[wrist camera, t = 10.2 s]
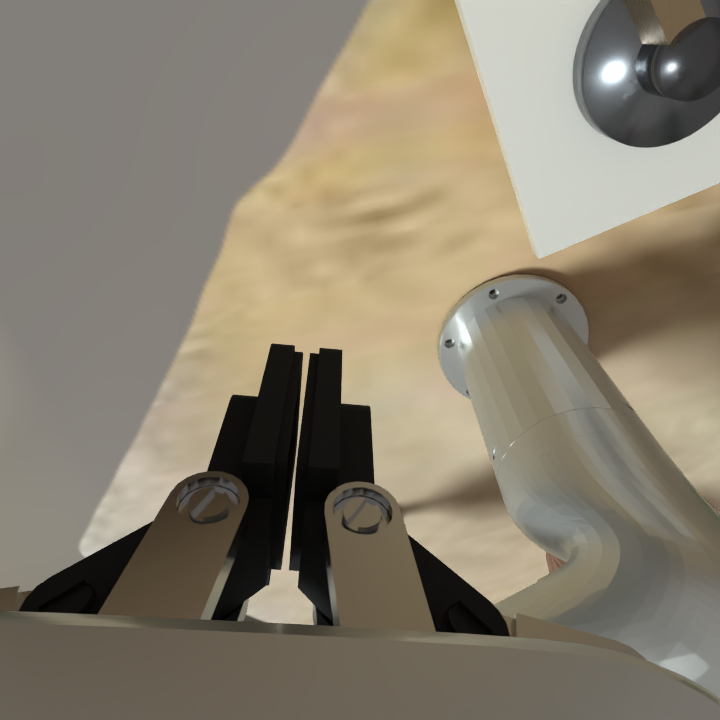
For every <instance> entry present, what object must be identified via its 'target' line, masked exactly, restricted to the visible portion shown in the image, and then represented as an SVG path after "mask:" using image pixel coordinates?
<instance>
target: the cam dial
mask: <svg viewBox="0 0 720 720" xmlns="http://www.w3.org/2000/svg"><path fill="white" fill-rule="evenodd" d="M573 89H574V95H575V99H576V102H577V105H578V107H579V110H580V112H581V113H582V115H583V117H584V118H585V120H586V121H587V122H588V123H589V124H590V126H591V127H592V128H594V129H595V130H596V131H597V132H599V133H600V134H602V135H604V136H606V137H608V138H610V139H613V140H615V141H617V142H620V143H622V144H625V145H628V146H633V147H639V148H652V147H660V146H664V145H668V144H671V143H674V142H677V141H680V140H682V139H684V138H686V137H688V136H690V135H692V134H693V133H695V132H696V131H698V130H700V129H701V128H702V127H704V126H705V125H706V124H708V123H709V122H710V121H711V120H712V119H714V118H715V117H716V116H717V115H718V114H719V113H720V0H600V2H599V3H598V5H597V6H596V7H595V9H594V10H593V12H592V13H591V15H590V17H589V19H588V20H587V22H586V24H585V26H584V29H583V31H582V33H581V35H580V38H579V41H578V44H577V47H576V52H575V56H574V62H573Z"/></svg>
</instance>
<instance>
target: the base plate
mask: <svg viewBox="0 0 720 720" xmlns="http://www.w3.org/2000/svg"><path fill="white" fill-rule="evenodd" d="M599 2H600V0H455V3H456V6H457V9H458V13H459V16H460V19H461V22H462V25H463V29H464V32H465V35H466V38H467V41H468V45H469V48H470V51H471V54H472V57H473V61H474V64H475V67H476V70H477V73H478V77H479V80H480V83H481V86H482V89H483V93H484V96H485V99H486V102H487V105H488V109H489V112H490V115H491V118H492V121H493V124H494V128H495V131H496V134H497V137H498V140H499V144H500V147H501V150H502V153H503V156H504V160H505V163H506V166H507V169H508V172H509V176H510V179H511V182H512V185H513V188H514V192H515V195H516V198H517V201H518V204H519V208H520V211H521V214H522V217H523V220H524V224H525V227H526V230H527V233H528V236H529V240H530V243H531V246H532V249H533V252H534V253H535V255H536V256H537V257H538V258H539V259H540V258H543V257H545V256H547V255H550V254H552V253H554V252H557V251H559V250H562V249H564V248H566V247H569V246H571V245H573V244H576V243H578V242H581V241H583V240H585V239H588V238H590V237H592V236H595V235H597V234H599V233H602V232H604V231H607V230H609V229H611V228H614V227H616V226H618V225H621V224H623V223H626V222H628V221H630V220H633V219H635V218H637V217H640V216H642V215H644V214H647V213H649V212H652V211H654V210H656V209H659V208H661V207H663V206H666V205H668V204H670V203H673V202H675V201H678V200H680V199H682V198H685V197H687V196H689V195H692V194H694V193H697V192H699V191H701V190H704V189H706V188H708V187H711V186H713V185H715V184H718V183H720V113H719V114H718V115H717V116H716V117H715V118H714V119H712V120H711V121H710V122H709V123H708V124H706V125H705V126H704V127H702V128H701V129H700V130H698V131H696V132H695V133H693V134H692V135H690V136H688V137H686V138H684V139H682V140H680V141H677V142H674V143H671V144H668V145H664V146H660V147H652V148H639V147H633V146H628V145H625V144H622V143H620V142H617V141H615V140H613V139H610V138H608V137H606V136H604V135H602V134H600V133H599V132H597V131H596V130H595V129H594V128H592V127H591V126H590V124H589V123H588V122H587V121H586V120H585V118H584V117H583V115H582V113H581V112H580V110H579V107H578V105H577V102H576V99H575V95H574V89H573V62H574V56H575V52H576V47H577V44H578V41H579V38H580V35H581V33H582V31H583V29H584V26H585V24H586V22H587V20H588V19H589V17H590V15H591V13H592V12H593V10H594V9H595V7H596V6H597V5H598V3H599Z"/></svg>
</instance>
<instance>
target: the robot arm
mask: <svg viewBox="0 0 720 720" xmlns="http://www.w3.org/2000/svg"><path fill="white" fill-rule="evenodd" d="M493 289H494V291H493V292H490V291H491V290H493ZM558 295H559V296H558ZM448 339H450V340H448ZM588 339H589V325H588V319H587V316H586V314H585V311H584V309H583V307H582V305H581V304H580V303H579V301H578V300H577V298H576V297H575V296H574V295H573V294H572V293H571V292H570V291H569V290H568V289H567V288H566V287H564V286H563V285H561V284H559V283H558V282H556V281H554V280H551V279H548V278H546V277H543V276H537V275H531V274H520V275H510V276H505V277H500V278H497V279H494V280H491V281H489V282H486V283H484V284H482V285H480V286H479V287H477V288H475V289H473V290H472V291H470V292H469V293H468V294H467V295H465V296H464V297H463V298H462V299H461V300H460V301H459V302H458V303H457V304H456V305H455V306H454V307H453V309H452V310H451V311H450V313H449V314H448V316H447V318H446V319H445V321H444V323H443V326H442V329H441V332H440V334H439V342H438V354H439V360H440V364H441V368H442V370H443V373H444V375H445V377H446V379H447V380H448V381H449V383H450V384H451V385H452V387H453V388H454V389H456V390H457V391H458V392H459V393H460V394H462V395H463V396H465V397H467V398H469V399H471V401H472V405H473V408H474V411H475V414H476V417H477V420H478V423H479V426H480V429H481V432H482V436H483V439H484V442H485V445H486V448H487V451H488V454H489V457H490V460H491V463H492V467H493V470H494V473H495V476H496V479H497V482H498V485H499V488H500V492H501V495H502V498H503V501H504V504H505V506H506V508H507V511H508V513H509V515H510V517H511V518H512V520H513V521H514V523H515V524H516V526H517V527H518V528H519V529H520V530H521V531H522V533H523V534H524V535H525V536H526V537H527V538H528V539H530V540H531V541H532V542H533V543H535V544H536V545H537V546H539V547H540V548H542V549H543V550H545V551H546V552H548V553H550V554H552V555H554V556H555V557H557V558H559V559H561V560H563V561H565V562H566V563H565V564H564V565H562V566H561V567H560V568H558V569H556V570H555V571H553V572H551V573H549V574H548V575H546V576H544V577H542V578H540V579H539V580H538V581H537V582H536V583H535V584H533V585H531V586H529V587H527V588H525V589H523V590H521V591H519V592H517V593H516V594H514V595H512V596H510V597H508V598H506V599H504V600H502V601H500V602H498V603H496V604H494V605H493V604H492V603H491V602H490V601H489V600H488V599H486V598H485V597H484V596H483V595H482V594H480V593H479V592H478V591H477V590H475V589H474V588H473V587H472V586H471V585H469V584H468V583H467V582H466V581H464V580H463V579H462V578H461V577H459V576H458V575H457V574H456V573H455V572H453V571H452V570H451V569H450V568H448V567H447V566H446V565H445V564H444V563H442V562H441V561H440V560H439V559H437V558H436V557H435V556H434V555H433V554H431V553H430V552H429V551H428V550H426V549H425V548H424V547H423V546H422V545H420V544H419V543H418V542H417V541H415V540H414V539H413V538H412V537H410V536H409V535H408V534H407V531H406V527H405V524H404V520H403V517H402V514H401V510H400V507H399V505H398V503H397V501H396V499H395V498H394V497H393V496H392V495H391V494H390V493H389V492H388V491H387V490H385V489H383V488H382V487H380V486H378V485H375V484H374V467H373V448H372V429H371V411H370V406H363V405H351V404H341V380H342V350H337V349H326V348H320V350H319V354H315V353H310V359H309V367H308V375H307V383H306V391H305V399H304V408H303V416H302V424H301V432H300V440H299V448H298V457H297V467H296V478H295V493H294V507H293V522H292V536H291V550H290V565H289V570H294V571H299V580H298V588H299V589H300V590H301V591H302V592H303V593H304V594H305V595H306V597H307V598H308V599H309V600H310V601H311V602H312V603H313V623H314V625H301V624H282V623H263V622H243V620H244V617H245V615H246V612H247V607H248V601H249V598H250V597H251V596H253V595H254V594H255V593H257V592H258V591H259V590H261V589H262V588H263V587H265V586H266V585H269V581H270V574H271V569H276V570H281V566H282V558H283V550H284V543H285V535H286V527H287V519H288V511H289V503H290V495H291V488H292V480H293V472H294V464H295V456H296V448H297V436H298V421H299V406H300V392H301V377H302V362H303V352H295V346H293V345H282V344H271V347H270V351H269V355H268V359H267V363H266V367H265V371H264V375H263V379H262V383H261V387H260V391H259V395H258V397H255V396H243V395H232V397H231V399H230V402H229V405H228V408H227V411H226V414H225V417H224V421H223V424H222V427H221V430H220V433H219V436H218V439H217V442H216V445H215V448H214V452H213V455H212V458H211V461H210V464H209V467H208V470H207V472H201V473H197V474H195V475H192V476H189V477H187V478H186V479H184V480H183V481H181V482H180V483H178V484H177V485H176V486H175V488H174V489H173V490H172V491H171V492H170V494H169V496H168V497H167V499H166V501H165V502H164V504H163V506H162V507H161V509H160V511H159V512H158V514H157V516H156V517H155V519H154V521H152V522H151V523H149V524H147V525H145V526H143V527H141V528H140V529H138V530H136V531H134V532H132V533H130V534H129V535H127V536H125V537H123V538H121V539H119V540H118V541H116V542H114V543H112V544H110V545H108V546H107V547H105V548H103V549H101V550H99V551H97V552H96V553H94V554H92V555H90V556H88V557H86V558H84V559H83V560H81V561H79V562H77V563H75V564H74V565H72V566H70V567H68V568H66V569H64V570H62V571H61V572H59V573H57V574H55V575H53V576H52V577H50V578H48V579H47V580H46V581H44V582H43V583H41V584H40V585H38V586H37V587H36V588H35V589H34V590H32V591H24V592H22V591H21V588H20V586H15V587H7V588H0V720H720V515H719V514H718V513H717V512H716V511H715V510H714V509H713V508H712V506H711V505H710V504H709V503H708V502H707V501H706V500H705V499H704V498H703V497H702V496H701V495H700V494H699V493H698V492H697V490H696V489H695V488H694V487H693V485H692V484H691V483H690V482H689V481H688V479H687V478H686V477H685V476H684V474H683V473H682V472H681V471H680V469H679V468H678V467H677V466H676V465H675V463H674V462H673V461H672V460H671V458H670V457H669V456H668V455H667V453H666V452H665V451H664V449H663V448H662V447H661V445H660V444H659V443H658V441H657V440H656V439H655V437H654V436H653V435H652V433H651V432H650V431H649V429H648V428H647V427H646V425H645V424H644V423H643V421H642V420H641V419H640V417H639V416H638V415H637V413H636V412H635V411H634V409H633V408H632V406H631V405H630V404H629V402H628V401H627V400H626V398H625V397H624V396H623V394H622V393H621V392H620V390H619V389H618V388H617V386H616V385H615V384H614V382H613V381H612V380H611V378H610V377H609V375H608V374H607V373H606V371H605V370H604V369H603V367H602V366H601V365H600V363H599V362H598V361H597V359H596V358H595V357H594V355H593V354H592V353H591V351H590V350H589V348H588V347H587V345H588ZM447 340H448V341H447Z"/></svg>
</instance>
